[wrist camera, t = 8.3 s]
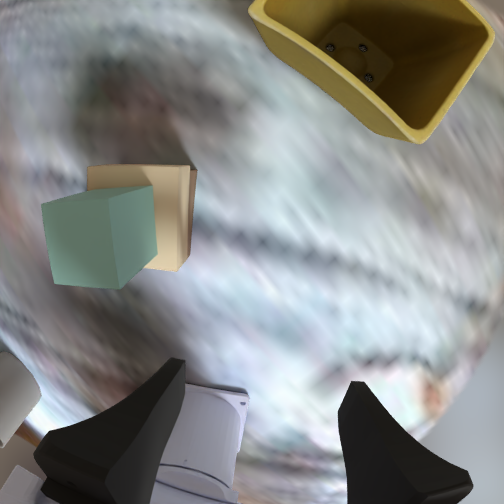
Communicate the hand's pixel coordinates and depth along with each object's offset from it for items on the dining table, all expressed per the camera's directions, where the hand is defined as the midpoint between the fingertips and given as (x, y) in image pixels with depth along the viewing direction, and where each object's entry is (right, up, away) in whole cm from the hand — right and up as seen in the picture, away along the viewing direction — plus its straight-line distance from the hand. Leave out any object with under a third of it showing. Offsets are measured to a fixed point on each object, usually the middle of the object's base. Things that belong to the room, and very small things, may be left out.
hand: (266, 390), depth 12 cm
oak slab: (-8, +9, +7) cm, 13 cm away
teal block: (-8, +8, +5) cm, 12 cm away
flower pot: (+6, +18, +5) cm, 20 cm away
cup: (-32, -11, +17) cm, 37 cm away
